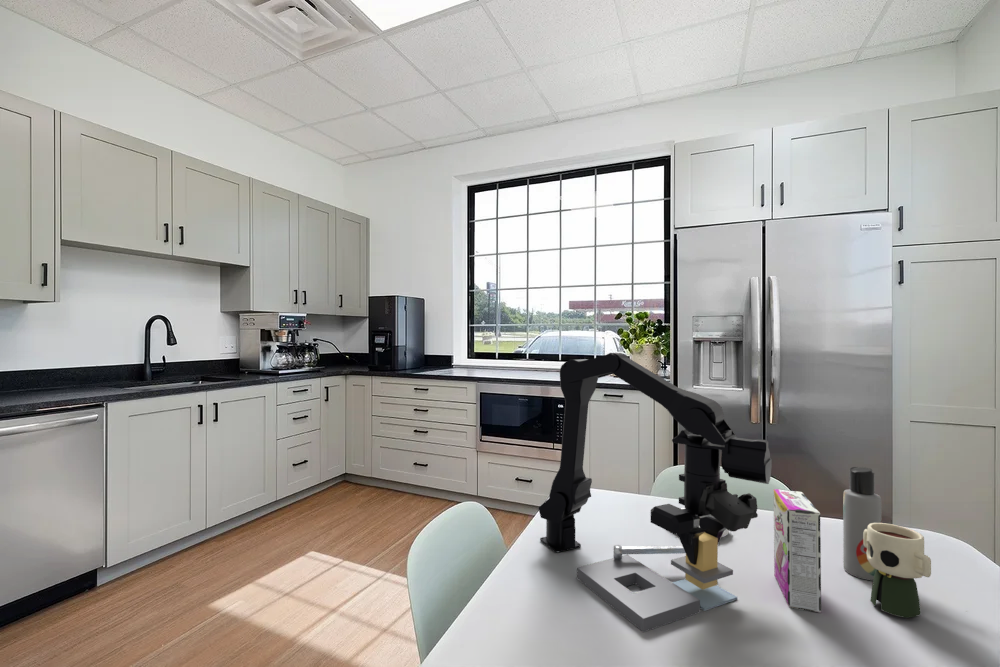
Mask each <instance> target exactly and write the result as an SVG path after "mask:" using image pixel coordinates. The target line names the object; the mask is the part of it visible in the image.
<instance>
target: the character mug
mask: <svg viewBox="0 0 1000 667" xmlns="http://www.w3.org/2000/svg"><path fill="white" fill-rule="evenodd" d="M863 543H864V546H865V547H866V548H867V559H868V561H869V563H870V564H871V566H872V567H873V568H875V569H877V570H876V571H875V574H874V579H873V580H872V586H871V590H870V591H871V594H870V599H869V600H870V602H871V603H872V605H874V606H875V607H877V606H876V605H877V601H878V603H880V610H881V611H883V612H886V613H887V614H890V615H893V616H897V617H901V618H904V619H905V618H915V617H919V616H921V613H922V612H921V605H920V604H921V603H920V597H919V591H918V586H917V582H916V580H915V579H920V578H922V577H924V578H930V577H931V575H932V559H931V558H930V557H929V556H928V555H926V554H925V537H924V536H923V534H922V533H920V532H918V531H916V530H913V529H910V528H908V527H905V526H902V525H901V526H900V525H897V524H892V523H885V522H884V523H883V522H881V523H871V524H869V525H868V527H867V529H865V530H864V532H863Z"/></svg>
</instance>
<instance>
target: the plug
mask: <svg viewBox="0 0 1000 667" xmlns="http://www.w3.org/2000/svg"><path fill="white" fill-rule="evenodd" d="M718 546H719V543H718V538H716V537H714V536H712V535H710V534H708V533H705V532H704V533H703V534H702V535H700V536H699V545H698V558H697V563H696V565H694V564H692V563H690V561H689V559H688V557H687V555H686V554H685V555H684V556H681V557H677V558H674V559H673V558H672V559H671V560H670V565H671V566H673V567H675V568H676V569H678V570H679V571H682V572H683V573H684V574H685V578H684V579H686V580H687V581H689V582H691V583H692V584H694V585H696V586H697V587H699V588H701V589H702V590H703V589H706V588H709V587H712V586H716V585H717V586H718V580H720V579H723V578H726V577H729V576H733V575H734V570H733V568H730V567H728V566H726V565H725V564H722V563H720V562H719V561H718V560H719V559H718V553H719V552H718V549H719V547H718Z"/></svg>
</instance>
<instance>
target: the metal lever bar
mask: <svg viewBox="0 0 1000 667" xmlns="http://www.w3.org/2000/svg"><path fill="white" fill-rule="evenodd" d="M665 554H666V555H668V554H686V552H685V550H684V548H683V546H682V545H656V546H655V545H654V546H653V545H651V546H648V545H647V546H645V545H643V546H622V545H619V544H614V545H613V558H614V559H615V560H618V561H620V560H622V556H623V555H665Z"/></svg>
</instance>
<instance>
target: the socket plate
mask: <svg viewBox="0 0 1000 667" xmlns="http://www.w3.org/2000/svg"><path fill="white" fill-rule="evenodd" d="M576 579H577V580H578V581H580V583H582V584H583V585H585V587H587V588H588V589H589V590H591V591H592V592H593V593H594V594H596V595H597V596H598V597H599V598H600V599H601V600H603V601H604V602H606V603H607V604H608V605H609V606H611V607H612V608H613V609H614V610H615V611H616V612H618V613H619V614H620V615H622V616H623V617H624V618H625V619H626V620H628V621H629V622H630V623H631V624H632V625H633V626H635V627H636V628H637V629H639V630H640V631H641V632H642V631H643V632H642V633H645V632H647V631H650V630H653V629H657V628H660V627H662V626H665V625H667V624H668V625H669V624H670V623H671V624H672V623H673V622H676V621H679V620H682V619H685V618H687V617H690V616H694V615H696V614H700V613H701V608H700V600H699V599H698V598H696V597H695V596H693V595H691V594H690V593H688V592H687V591H685V590H683V589H682V588H680V587H679V586H677V585H675V584H674V583H672V581H670V580H669V579H668V578H666V577H664V576H662V575H661V574H659V573H657V571H654V570H653V569H651V568H650V567H648V566H647V565H645V564H644V563H642V562H641V561H638V560H637V559H635V558H634V557H633V556H630V554H623V555H622V560H620V561H618V560H615V559H614V557H613V558H609V559H604V560H600V561H596V562H592V563H591V562H590V563H588V564H584V565H580V566H576ZM634 585H636V586H638V587H639V588H641V590H639V591H636V592H633V591H631V590H630V589H629V588H627V587H629V586H634Z"/></svg>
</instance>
